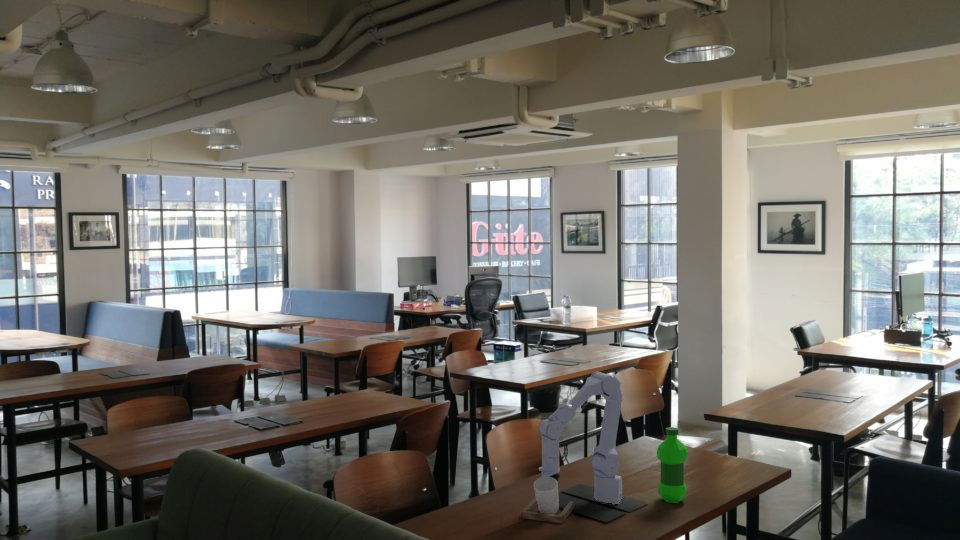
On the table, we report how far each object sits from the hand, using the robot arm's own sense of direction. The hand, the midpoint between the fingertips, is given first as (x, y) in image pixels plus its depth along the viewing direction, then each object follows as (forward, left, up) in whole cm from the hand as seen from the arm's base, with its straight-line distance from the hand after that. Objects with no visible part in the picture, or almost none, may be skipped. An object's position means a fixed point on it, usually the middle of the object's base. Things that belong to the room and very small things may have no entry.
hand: (550, 495), depth 260 cm
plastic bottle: (-37, -22, -5) cm, 43 cm away
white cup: (0, +3, -4) cm, 4 cm away
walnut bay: (0, +3, -4) cm, 5 cm away
